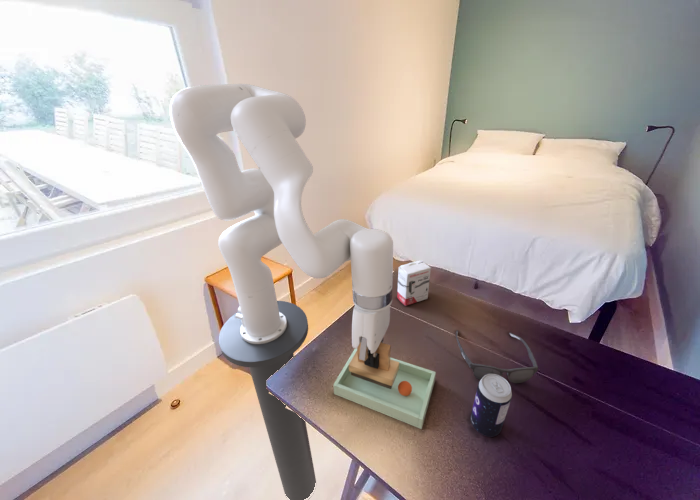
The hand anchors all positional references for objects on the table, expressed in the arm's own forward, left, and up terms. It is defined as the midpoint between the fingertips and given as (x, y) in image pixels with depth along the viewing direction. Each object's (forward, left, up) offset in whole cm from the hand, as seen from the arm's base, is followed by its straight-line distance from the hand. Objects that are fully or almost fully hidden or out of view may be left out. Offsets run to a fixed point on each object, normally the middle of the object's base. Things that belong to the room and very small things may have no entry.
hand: (373, 361), depth 68 cm
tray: (+3, 0, -7) cm, 8 cm away
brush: (0, 0, -4) cm, 4 cm away
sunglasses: (+24, +19, -7) cm, 31 cm away
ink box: (0, +34, -7) cm, 35 cm away
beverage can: (+24, 0, -7) cm, 25 cm away
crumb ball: (+7, 0, -5) cm, 9 cm away
